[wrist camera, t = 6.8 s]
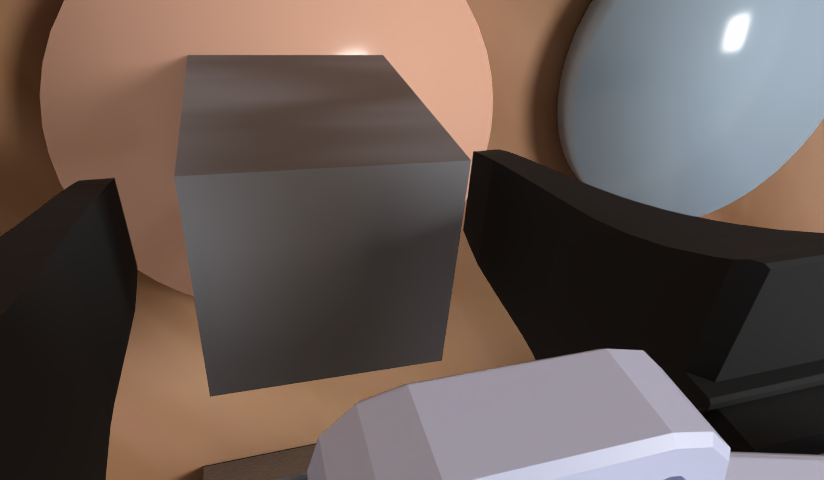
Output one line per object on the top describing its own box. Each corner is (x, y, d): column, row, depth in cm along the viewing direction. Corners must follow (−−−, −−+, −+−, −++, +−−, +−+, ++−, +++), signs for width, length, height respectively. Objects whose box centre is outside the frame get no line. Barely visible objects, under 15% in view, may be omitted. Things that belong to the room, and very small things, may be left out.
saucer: (898, -103, 17) (932, -101, 16) (764, 196, 22) (785, 209, 22) (600, -122, 14) (623, -120, 13) (531, 221, 20) (545, 237, 19)
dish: (505, -103, 14) (522, -100, 13) (459, 266, 20) (469, 283, 19) (-24, -131, 11) (-42, -129, 10) (111, 311, 17) (105, 333, 16)
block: (383, 54, 14) (471, 159, 9) (375, 212, 17) (441, 360, 12) (187, 54, 13) (174, 176, 8) (210, 226, 15) (210, 396, 11)
